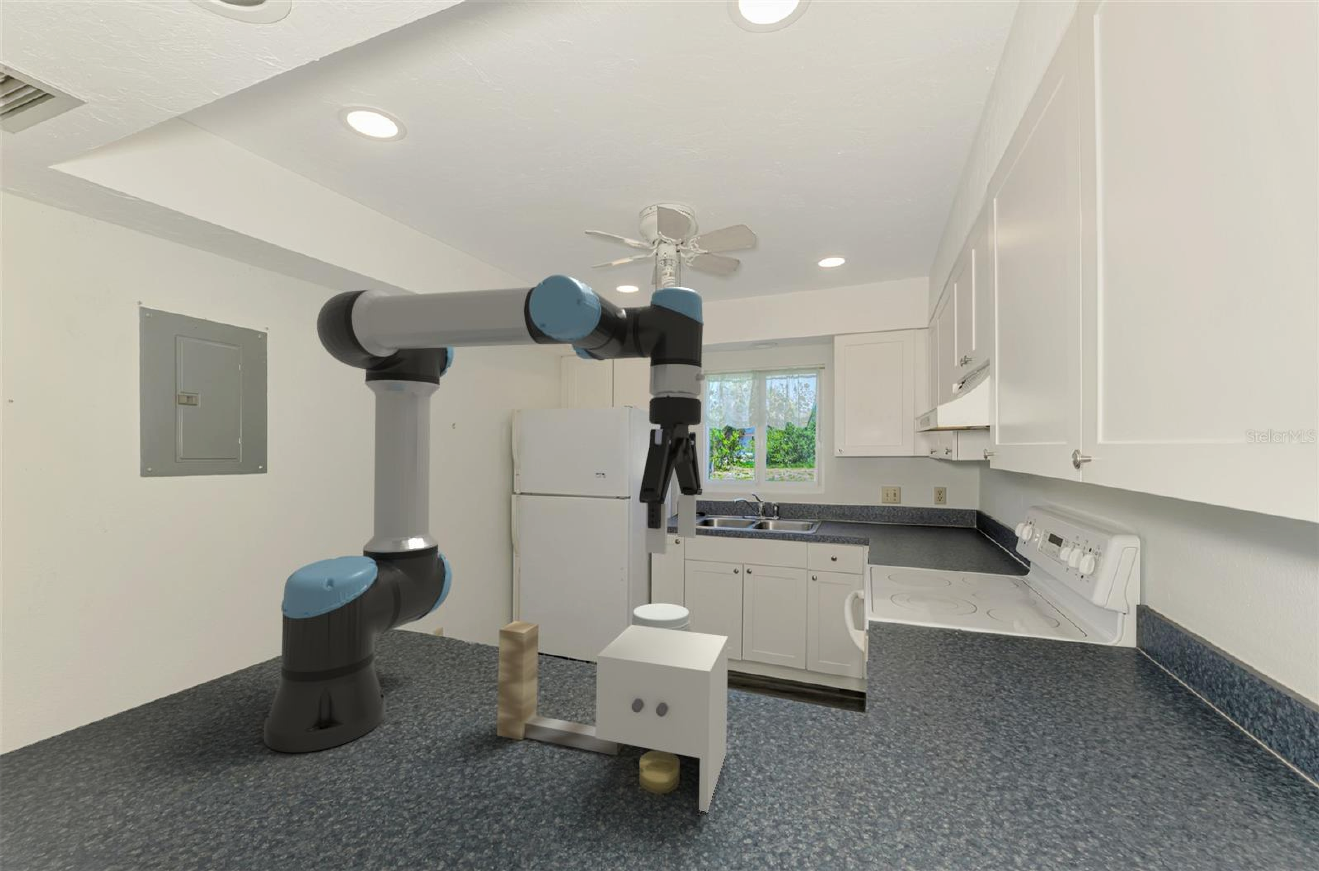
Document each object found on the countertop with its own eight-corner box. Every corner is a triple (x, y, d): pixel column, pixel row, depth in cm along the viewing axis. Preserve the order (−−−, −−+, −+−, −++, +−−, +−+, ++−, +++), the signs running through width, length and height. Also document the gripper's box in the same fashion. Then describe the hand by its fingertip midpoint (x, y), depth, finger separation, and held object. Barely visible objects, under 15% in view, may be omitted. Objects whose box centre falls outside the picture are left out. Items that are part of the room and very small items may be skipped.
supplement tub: (701, 706, 87) (702, 614, 87) (651, 721, 82) (653, 624, 82) (667, 683, 95) (668, 599, 95) (620, 696, 90) (621, 607, 90)
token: (633, 789, 66) (633, 768, 66) (646, 766, 71) (646, 747, 71) (673, 798, 64) (673, 776, 64) (683, 773, 69) (683, 754, 69)
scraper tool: (497, 735, 77) (499, 629, 77) (512, 721, 81) (514, 620, 81) (614, 758, 72) (616, 645, 72) (625, 743, 76) (627, 635, 76)
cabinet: (591, 792, 65) (594, 658, 65) (628, 737, 77) (630, 624, 77) (705, 817, 61) (708, 674, 61) (726, 755, 73) (727, 636, 73)
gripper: (672, 388, 65) (668, 563, 65) (721, 404, 89) (718, 533, 89) (615, 389, 68) (612, 558, 68) (677, 404, 91) (675, 530, 91)
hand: (672, 544), depth 78 cm, fingers open, 13 cm apart
